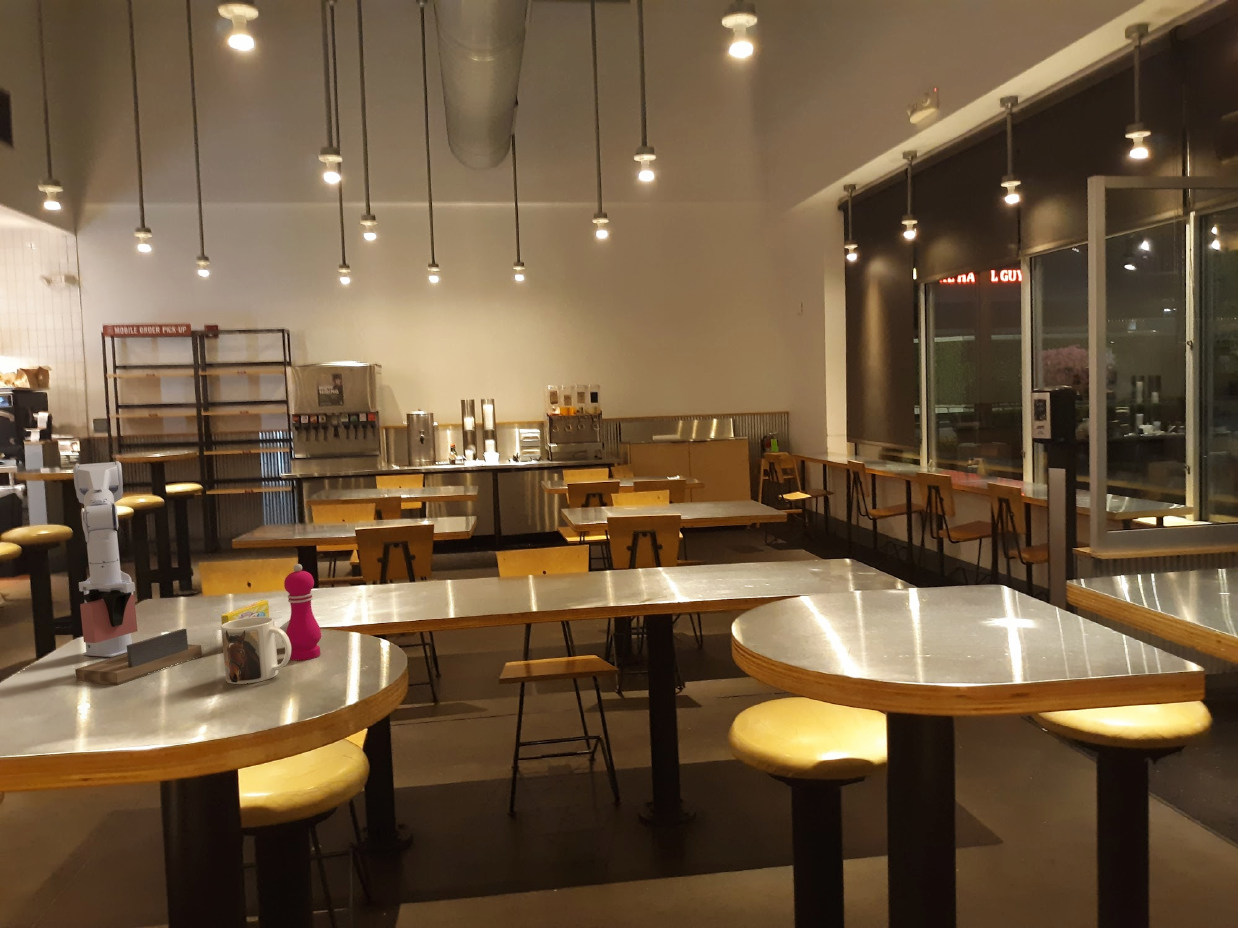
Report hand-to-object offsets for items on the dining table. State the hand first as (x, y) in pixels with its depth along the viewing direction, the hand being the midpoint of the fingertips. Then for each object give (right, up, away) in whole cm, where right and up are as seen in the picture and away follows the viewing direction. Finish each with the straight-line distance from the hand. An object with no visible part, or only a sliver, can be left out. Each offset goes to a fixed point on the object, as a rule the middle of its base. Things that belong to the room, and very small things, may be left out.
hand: (110, 625), depth 199 cm
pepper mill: (+41, -7, +2) cm, 41 cm away
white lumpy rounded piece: (+36, -7, +10) cm, 38 cm away
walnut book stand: (+7, -9, 0) cm, 11 cm away
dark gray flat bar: (+12, -6, -2) cm, 13 cm away
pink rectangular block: (0, -2, 0) cm, 2 cm away
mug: (+36, -8, -13) cm, 39 cm away
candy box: (+22, -7, +18) cm, 29 cm away
